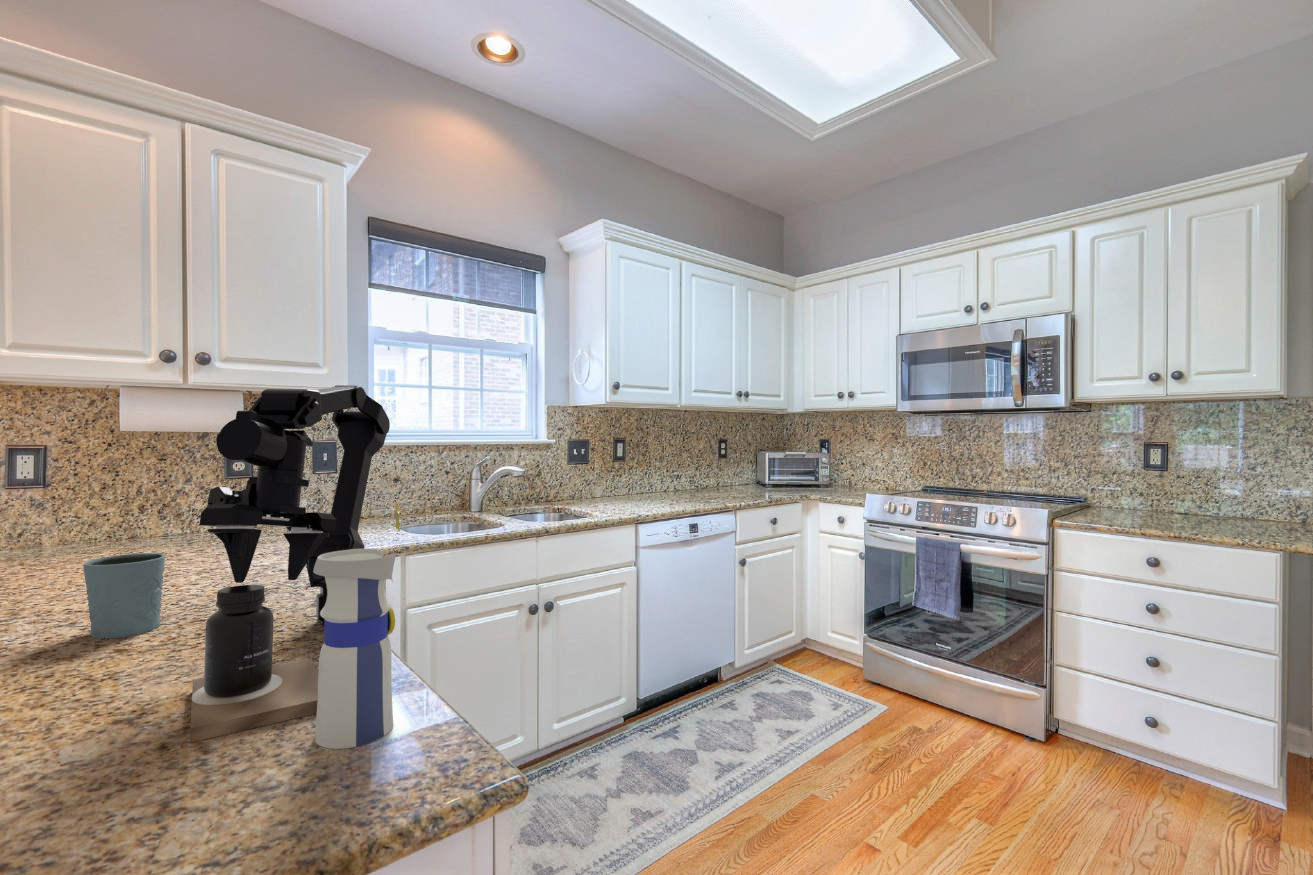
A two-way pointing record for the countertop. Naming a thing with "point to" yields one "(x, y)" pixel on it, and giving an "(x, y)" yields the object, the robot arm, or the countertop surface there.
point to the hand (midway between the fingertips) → (267, 581)
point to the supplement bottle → (238, 643)
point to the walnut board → (256, 702)
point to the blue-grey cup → (124, 594)
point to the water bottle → (355, 648)
